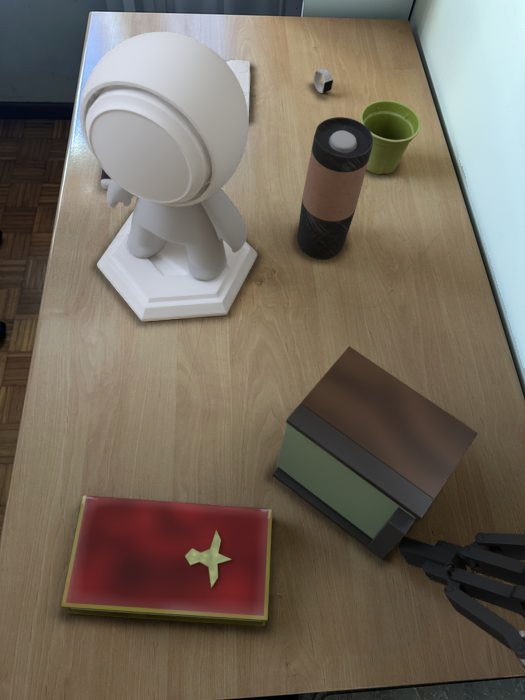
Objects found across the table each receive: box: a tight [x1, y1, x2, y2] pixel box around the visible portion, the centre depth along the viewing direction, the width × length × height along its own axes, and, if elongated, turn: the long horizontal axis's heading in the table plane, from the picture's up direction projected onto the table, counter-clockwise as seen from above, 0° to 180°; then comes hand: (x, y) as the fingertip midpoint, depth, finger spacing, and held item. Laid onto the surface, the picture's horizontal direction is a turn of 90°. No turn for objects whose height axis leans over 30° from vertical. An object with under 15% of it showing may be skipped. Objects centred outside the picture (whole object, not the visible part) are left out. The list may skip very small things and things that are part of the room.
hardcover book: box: [60, 494, 273, 627], centre depth 72 cm, size 12×21×4 cm, turn 87°
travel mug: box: [296, 116, 373, 260], centre depth 92 cm, size 8×8×20 cm
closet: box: [272, 345, 479, 561], centre depth 74 cm, size 11×16×16 cm
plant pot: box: [359, 99, 422, 175], centre depth 106 cm, size 9×9×9 cm
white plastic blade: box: [225, 59, 251, 120], centre depth 116 cm, size 5×15×1 cm, turn 179°
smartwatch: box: [313, 68, 334, 94], centre depth 117 cm, size 4×2×4 cm, turn 32°
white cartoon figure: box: [79, 31, 258, 322], centre depth 81 cm, size 20×23×35 cm
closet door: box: [275, 412, 417, 561], centre depth 72 cm, size 3×16×14 cm, turn 52°
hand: (406, 550), depth 69 cm, fingers closed
